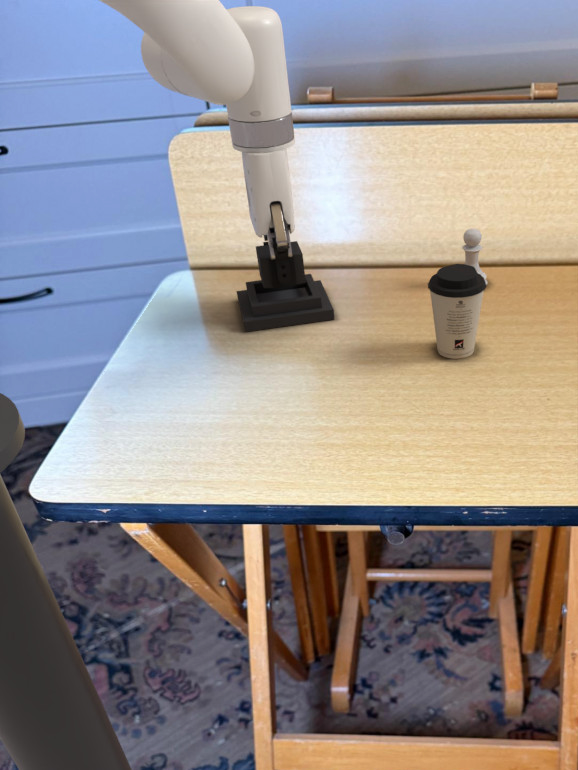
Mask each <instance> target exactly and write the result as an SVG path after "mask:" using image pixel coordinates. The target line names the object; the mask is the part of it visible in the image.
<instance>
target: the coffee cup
mask: <svg viewBox="0 0 578 770" xmlns="http://www.w3.org/2000/svg"><path fill="white" fill-rule="evenodd" d="M427 288H428V290H429V291H430V292H429V293H430V300H431V308H432V316H433V323H434V324H433V325H434V332H435V340H436V348H437V349H436V350H437V353H438V354H439V356H441V357H443V358H447V359H453V360H457V359H464V358H467V357H470V356H472V355H473V353H474V351H475V348H476V347H475V346H476V340H477V334H478V328H479V323H480V316H481V312H482V311H481V310H482V304H483V297H484V291H485V290H486V288H487V285H486V282H485V280H484V278H483V277H482V276H481V275H480V274H478V273H477V271H476V269H475V268H474V267H473V266H470V265H465V263H453V264H450V265H447V266H442V267H441V268H439V269H438V270H437V272H436V273H434V274H433V275H432V276H431V277H430V278H429V280H428V283H427Z"/></svg>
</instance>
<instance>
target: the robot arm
mask: <svg viewBox="0 0 578 770" xmlns="http://www.w3.org/2000/svg"><path fill="white" fill-rule="evenodd" d="M98 1H99V2H101V3H103V4H105V5H107V6H108V7H110V8H111V9H113V10H114V11H116V12H118V13H119V14H121V15H122V16H124V17H125V18H126V19H127V20H129V21H130V22H132V23H133V24H134V25H135V26H136V27H137V28H139V29H140V30H141V31H142V32H143V35H142V38H141V43H140V54H141V59H142V63H143V65H144V67H145V69H146V71H147V73H148V74H149V75H150V76H151V77H152V79H153V80H154V81H155V82H156V83H158V84H159V85H160V86H162V87H163V88H165V89H167V90H169V91H171V92H174V93H177V94H180V95H184V96H187V97H190V98H194V99H198V100H201V101H204V102H206V103H210V104H214V105H218V106H226V112H227V119H228V120H227V121H228V126H229V132H230V139H231V144H232V149H234V150H236V151H238V152H240V153H241V160H242V167H243V168H242V169H243V175H244V183H245V190H246V197H247V204H248V213H249V218H250V221H251V225H252V227H253V231H254V233H255V235H256V236H257V237H259V238H261V239H262V238H263V240H264V241H263V242H262V243H263V244H262V245H269V251H270V257H268V258H269V265H270V272H271V279H272V285H273V287H274V288H281V287H288V286H295V285H296V284H297V280H296V271H295V263H294V255H293V254H292V249H291V242H292V241H291V237H290V236H291V234H293V233H294V231H295V230H296V228H295V216H294V202H293V191H292V183H291V182H292V181H291V174H290V166H289V159H288V152H287V151H288V150H287V149H289V148H291V147H292V146H294V145H295V143H296V138H295V130H294V120H293V112H292V103H291V102H292V101H291V94H290V85H289V76H288V66H287V58H286V57H287V56H286V49H285V48H286V47H285V41H284V40H285V39H284V32H283V31H284V30H283V25H282V24H283V23H282V20H281V18H280V15H279V14H278V13H277V11H276V10H275V9H272V8H270V7H268V6H259V5H255V6H254V5H247V6H236V7H230V8H227V9H226V7H225V6H224V4H222V2H221V1H220V0H98ZM273 244H274V245H273Z"/></svg>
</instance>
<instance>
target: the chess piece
mask: <svg viewBox="0 0 578 770" xmlns="http://www.w3.org/2000/svg"><path fill="white" fill-rule="evenodd" d="M462 237H463V242H464V245H463V246H461V249H462V250H463V251H464V258H465V260H464V261H465V262H464V264H465V265H470V266H473V267H474V268H475V269H476V271H477V273H478V274H480V275H481V276H482V277H483V278H484V280H485V282H486V286H487V285H488V280H487V278H488V277H487V273H485V272H484V271H483V270H482V269H481V268H480V267H481V266H480V264H479V255H480V251H481V250H482V249H483V246H482V245H480V243H481V241H482V233H481V231H480V230H479V229H477V228H468V229H467V230H465V231H464V234H463V236H462Z"/></svg>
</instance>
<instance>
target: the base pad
mask: <svg viewBox="0 0 578 770" xmlns="http://www.w3.org/2000/svg"><path fill="white" fill-rule="evenodd" d="M305 280H306V283H302V284H296V285H295V286H288V287H281V288H274V287H273V288H266V289H264V287H263V283H262V280H261V279H259V280H252V281H245V287H246V288H245V289H242V290H237V291H236V297H237V301H238V306H239V310H240V315H241V319H242V322H243V327H244V330H245V332H246V333H249V332H255V331H262V330H263V331H264V330H270V329H276V328H284V327H291V326H298V325H304V324H312V323H321V322H327V321H333V320H335V310H334V307H333V305H332V302H331V300H330V298H329V296H328V293H327V292H326V288H325V287H324V285H323V283H322V280H320V279H318V280H314V278H313V275H312V274H311V273H305Z"/></svg>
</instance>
